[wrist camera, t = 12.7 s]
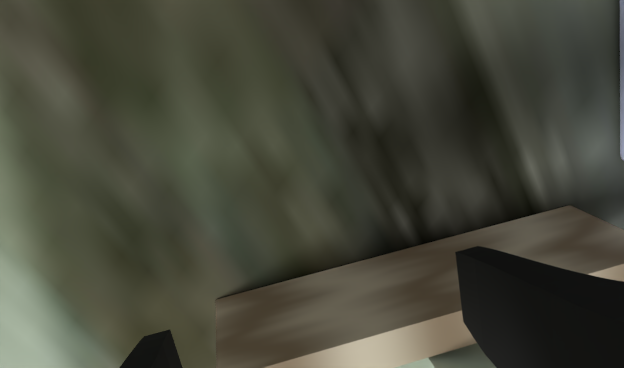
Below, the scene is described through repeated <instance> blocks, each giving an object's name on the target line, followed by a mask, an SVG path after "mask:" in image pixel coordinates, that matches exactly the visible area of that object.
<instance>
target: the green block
mask: <svg viewBox="0 0 624 368" xmlns="http://www.w3.org/2000/svg"><path fill="white" fill-rule="evenodd" d="M395 368H496V366H495V365H494V364H493V363H492V362H491V361H490V360H489V358H488V357H487V356H486V355H485V354H484V352H483V351H482V349H481V348H480V346H479V345H478V344H477V343H475V344H472V345H469V346H465V347H462V348H459V349H455V350H452V351H448V352H445V353H442V354H438V355H435V356H432V357H428V358H425V359H422V360H418V361H415V362H412V363H408V364H405V365H401V366H398V367H395Z"/></svg>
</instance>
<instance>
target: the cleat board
mask: <svg viewBox="0 0 624 368" xmlns="http://www.w3.org/2000/svg"><path fill="white" fill-rule="evenodd" d="M476 246H481V247H486V248H491V249H495V250H498V251H502V252H506V253H509V254H513V255H516V256H520V257H523V258H527V259H530V260H534V261H537V262H541V263H544V264H548V265H551V266H555V267H559V268H563V269H567V270H571V271H575V272H579V273H583V274H588V275H592V276H596V277H601V278H606V279H611V280H617V281H623V282H624V230H623V229H621V228H619V227H616V226H614V225H612V224H610V223H608V222H606V221H603V220H601V219H599V218H597V217H595V216H592V215H590V214H588V213H586V212H584V211H581V210H579V209H577V208H575V207H573V206H571V205H568V206H564V207H561V208H557V209H553V210H550V211H546V212H542V213H538V214H535V215H531V216H527V217H523V218H520V219H516V220H512V221H508V222H505V223H501V224H497V225H493V226H490V227H486V228H482V229H478V230H475V231H471V232H467V233H463V234H460V235H456V236H452V237H448V238H445V239H441V240H437V241H433V242H430V243H426V244H422V245H419V246H415V247H411V248H407V249H404V250H400V251H396V252H392V253H389V254H385V255H381V256H377V257H374V258H370V259H366V260H362V261H359V262H355V263H351V264H347V265H344V266H340V267H336V268H332V269H329V270H325V271H321V272H317V273H314V274H310V275H306V276H302V277H299V278H295V279H291V280H288V281H284V282H280V283H276V284H273V285H269V286H265V287H261V288H258V289H254V290H250V291H246V292H243V293H239V294H235V295H231V296H228V297H224V298H220V299H216V300H215V303H216V367H217V368H395V367H398V366H401V365H405V364H408V363H412V362H415V361H418V360H422V359H425V358H428V357H432V356H435V355H438V354H442V353H445V352H448V351H452V350H455V349H459V348H462V347H465V346H469V345H472V344H475V343H477V342H476V341H475V339H474V338H473V336H472V335H471V333H470V331H469V330H468V328H467V327H466V325H465V324H464V322H463V315H462V307H461V298H460V289H459V280H458V272H457V263H456V254H455V252H457V251H461V250H465V249H468V248H472V247H476Z"/></svg>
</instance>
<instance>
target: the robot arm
mask: <svg viewBox="0 0 624 368" xmlns="http://www.w3.org/2000/svg"><path fill="white" fill-rule="evenodd" d="M620 155H621V158H622V160H623V161H624V0H620ZM455 254H456V263H457V272H458V280H459V289H460V298H461V307H462V315H463V322H464V324H465V325H466V327H467V328H468V330H469V331H470V333H471V335H472V336H473V338H474V339H475V341H476V342H477V344H478V345H479V346H480V348H481V349H482V351H483V352H484V354H485V355H486V356H487V357H488V358H489V360H490V361H491V362H492V363H493V364H494V365H495V366H496V368H624V282H623V281H617V280H611V279H606V278H601V277H596V276H592V275H588V274H583V273H579V272H575V271H571V270H567V269H563V268H559V267H555V266H551V265H548V264H544V263H541V262H537V261H534V260H530V259H527V258H523V257H520V256H516V255H513V254H509V253H506V252H502V251H498V250H495V249H491V248H486V247H481V246H476V247H472V248H468V249H465V250H461V251H457V252H455ZM120 368H182V365H181V362H180V359H179V356H178V353H177V350H176V347H175V343H174V340H173V337H172V334H171V331H170V330H166V331H163V332H159V333H155V334H152V335H148V336H144V337H143V338H142V339H141V341H140V342H139V343H138V344H137V345H136V347H135V348H134V349H133V351H132V352H131V353H130V355H129V356H128V357H127V358H126V360H125V361H124V362H123V364H122V365H121V366H120Z"/></svg>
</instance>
